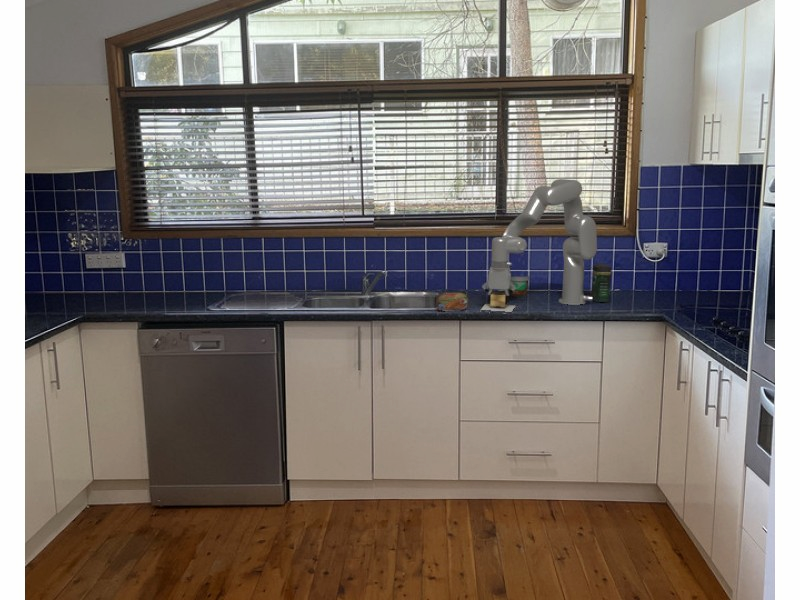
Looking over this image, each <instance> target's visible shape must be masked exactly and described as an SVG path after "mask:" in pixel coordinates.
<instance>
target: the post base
mask: <svg viewBox="0 0 800 600" xmlns="http://www.w3.org/2000/svg"><path fill="white" fill-rule="evenodd" d="M514 308H515V309H516V305H513V304H507V305H505V306H490V303H485V304H484V305H483V306H482V307H481V309H480V311H481V310H491V311H505V312H512V311H513V309H514ZM515 309H514V310H515ZM513 312H514V311H513ZM513 312H512V313H513Z"/></svg>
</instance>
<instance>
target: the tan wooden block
mask: <svg viewBox="0 0 800 600" xmlns="http://www.w3.org/2000/svg"><path fill="white" fill-rule="evenodd" d="M505 298H506V293H505V292H495V291H492V294H491V303H490V302H489V304H490V306H505V305H506V304H505Z"/></svg>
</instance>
